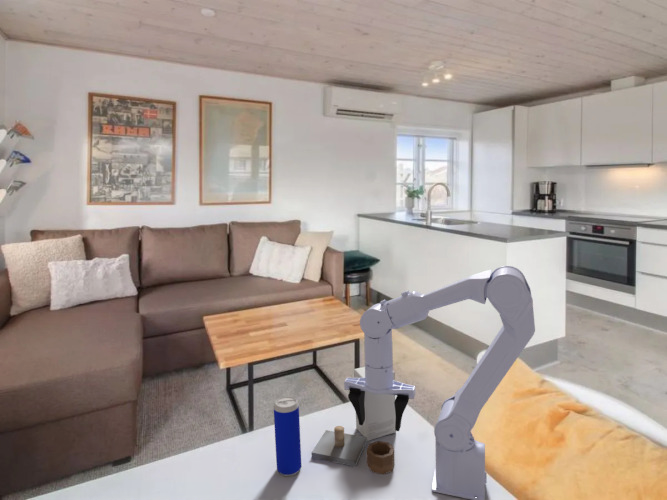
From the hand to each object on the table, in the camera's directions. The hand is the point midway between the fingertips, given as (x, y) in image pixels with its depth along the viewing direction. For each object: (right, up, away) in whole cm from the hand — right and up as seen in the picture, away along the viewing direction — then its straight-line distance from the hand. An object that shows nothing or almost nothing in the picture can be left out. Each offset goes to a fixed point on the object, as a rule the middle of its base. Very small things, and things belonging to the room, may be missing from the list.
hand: (379, 425), depth 84 cm
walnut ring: (0, -9, +1) cm, 9 cm away
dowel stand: (-8, -8, +7) cm, 14 cm away
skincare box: (+1, -8, +14) cm, 16 cm away
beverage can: (-19, -10, +1) cm, 21 cm away
